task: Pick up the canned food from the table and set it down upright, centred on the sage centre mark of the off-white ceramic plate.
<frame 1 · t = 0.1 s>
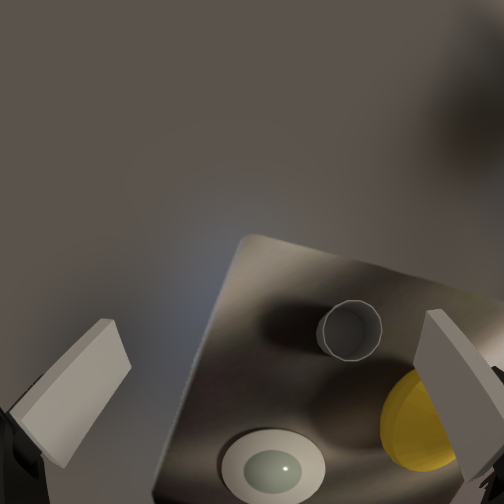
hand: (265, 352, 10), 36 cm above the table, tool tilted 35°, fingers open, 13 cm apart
vase: (413, 405, 37), on the table
plate: (273, 470, 36), on the table
cup: (340, 333, 43), on the table
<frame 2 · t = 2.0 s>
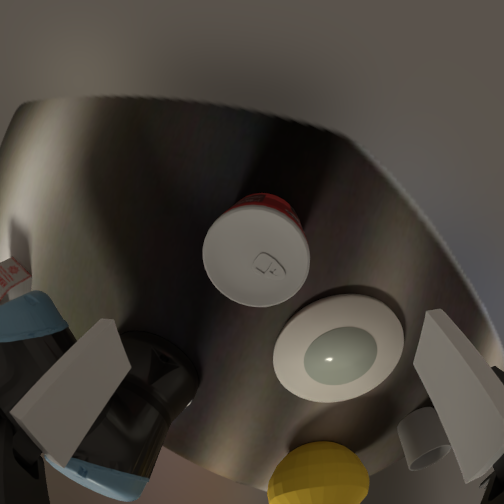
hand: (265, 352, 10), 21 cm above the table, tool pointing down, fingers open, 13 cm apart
vase: (316, 452, 42), on the table
plate: (339, 352, 34), on the table
cup: (416, 420, 38), on the table
canned food: (264, 227, 30), on the table
small printed carton: (22, 273, 37), on the table
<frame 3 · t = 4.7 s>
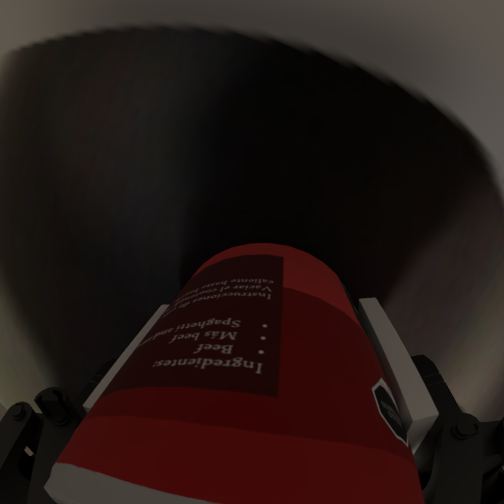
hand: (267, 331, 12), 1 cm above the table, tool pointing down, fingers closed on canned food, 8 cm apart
canned food: (269, 314, 13), on the table, touching gripper
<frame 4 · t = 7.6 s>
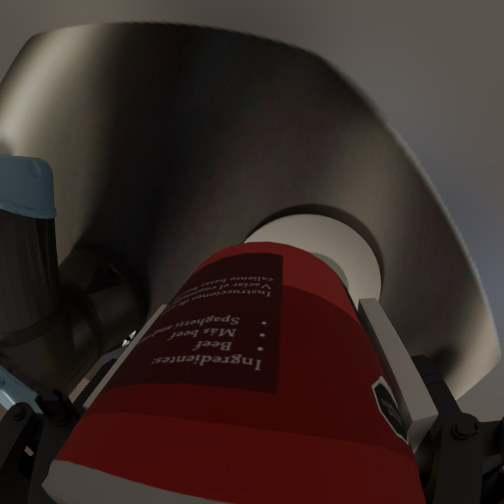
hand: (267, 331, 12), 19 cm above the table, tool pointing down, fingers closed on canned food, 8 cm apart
plate: (304, 290, 32), on the table
canned food: (268, 313, 13), point 18 cm above the table, touching gripper
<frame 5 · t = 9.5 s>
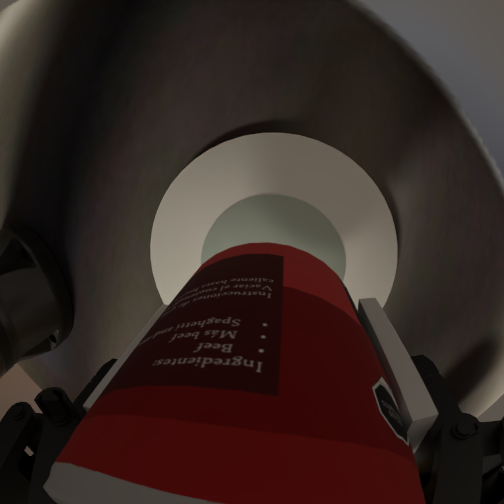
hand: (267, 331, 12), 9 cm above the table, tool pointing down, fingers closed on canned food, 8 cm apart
plate: (273, 262, 20), on the table
canned food: (269, 314, 13), point 7 cm above the table, touching gripper
when the fingers open (4 cm above the table, at t = 10.8 s): canned food drops 2 cm, resting on plate.
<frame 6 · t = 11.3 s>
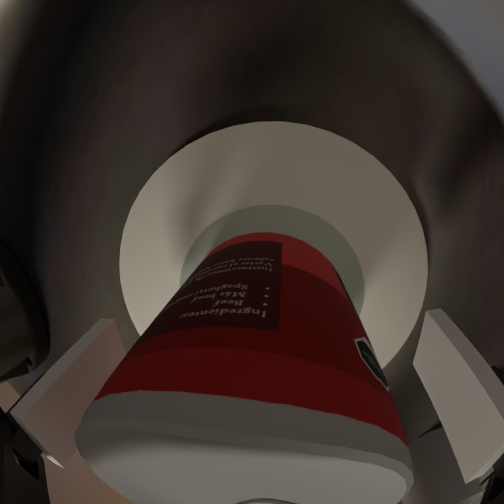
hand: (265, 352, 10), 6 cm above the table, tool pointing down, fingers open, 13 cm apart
plate: (272, 290, 16), on the table
cup: (426, 446, 20), on the table
canned food: (269, 298, 14), point 1 cm above the table, touching plate
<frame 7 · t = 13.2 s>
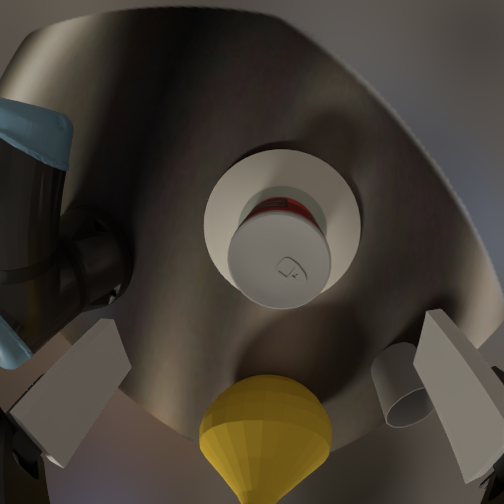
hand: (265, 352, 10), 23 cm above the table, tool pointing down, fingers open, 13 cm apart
vase: (270, 394, 40), on the table
plate: (282, 228, 32), on the table
cup: (394, 362, 36), on the table
canned food: (281, 230, 31), point 1 cm above the table, touching plate
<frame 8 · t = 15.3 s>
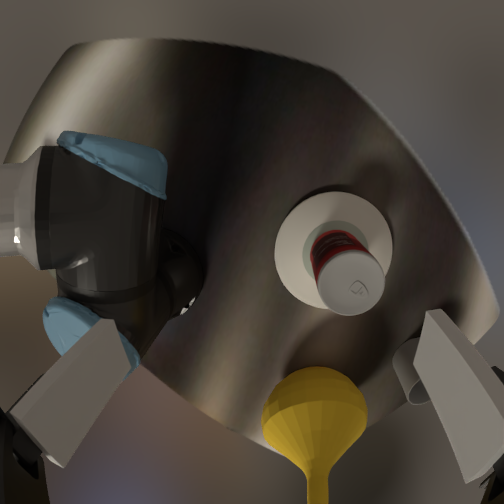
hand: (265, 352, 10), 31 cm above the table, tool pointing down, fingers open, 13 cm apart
vase: (312, 384, 48), on the table
plate: (334, 251, 40), on the table
cup: (410, 354, 44), on the table
canned food: (335, 253, 39), point 1 cm above the table, touching plate
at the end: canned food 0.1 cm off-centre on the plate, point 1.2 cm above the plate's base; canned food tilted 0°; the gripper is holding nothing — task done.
